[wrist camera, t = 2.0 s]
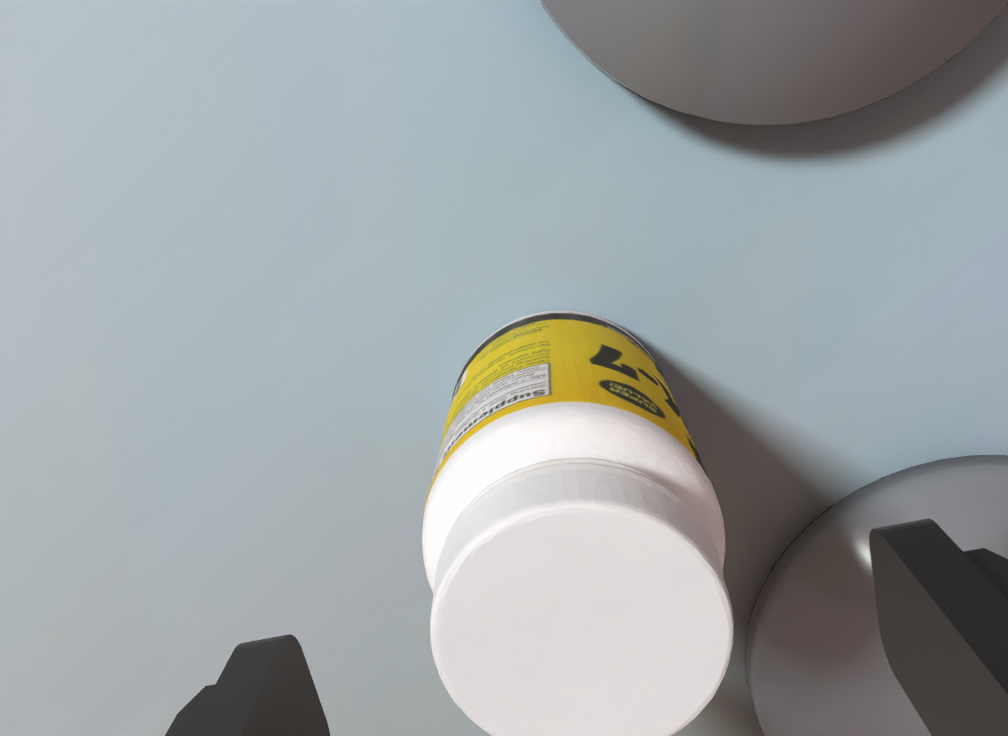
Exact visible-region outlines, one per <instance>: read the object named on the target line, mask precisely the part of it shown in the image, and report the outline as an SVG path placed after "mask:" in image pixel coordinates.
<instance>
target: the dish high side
mask: <svg viewBox="0 0 1008 736" xmlns="http://www.w3.org/2000/svg"><path fill="white" fill-rule="evenodd" d="M539 1H540V2H541V4H542V6H543V8H544V9H545V10H546V12H547V13H548V14H549V16H550V17H551V18H552V20H553V21H554V23H555V24H556V25H557V27H558V28H559V29H560V31H561V32H562V33H563V35H564V36H565V37H566V38H567V39H568V40H569V41H570V42H571V43H572V44H573V45H574V46H575V47H576V48H577V49H578V50H579V51H580V52H581V53H582V54H583V55H584V56H585V57H586V58H587V59H588V61H590V62H591V63H592V64H594V65H595V66H596V67H597V68H599V69H600V70H601V71H603V72H604V73H605V74H606V75H608V76H609V77H610V78H612V79H613V80H614V81H615V82H617V83H619V84H621V85H622V86H624V87H626V88H628V89H629V90H631V91H633V92H634V93H636V94H638V95H640V96H641V97H643V98H645V99H648V100H650V101H653V102H655V103H658V104H660V105H662V106H665V107H667V108H670V109H672V110H675V111H679V112H683V113H687V114H691V115H695V116H699V117H703V118H707V119H711V120H715V121H719V122H727V123H737V124H746V125H785V124H796V123H802V122H808V121H814V120H820V119H827V118H830V117H834V116H837V115H840V114H844V113H847V112H850V111H854V110H857V109H860V108H863V107H866V106H868V105H870V104H873V103H875V102H877V101H879V100H882V99H884V98H886V97H888V96H891V95H893V94H895V93H898V92H899V91H901V90H903V89H905V88H906V87H908V86H910V85H911V84H913V83H915V82H916V81H918V80H920V79H921V78H923V77H925V76H927V75H928V74H930V73H932V72H933V71H934V70H936V69H937V68H938V67H940V66H941V65H942V64H944V63H945V62H946V61H948V60H949V59H950V58H952V57H953V56H954V55H956V54H957V53H958V52H959V51H961V50H962V49H963V48H965V47H966V46H967V45H968V44H969V43H970V42H971V41H972V40H973V39H974V38H975V37H976V36H977V35H978V34H979V33H981V32H982V31H983V30H984V29H985V28H986V27H987V26H988V25H989V24H990V23H991V22H992V21H993V20H994V19H995V18H996V17H997V16H998V15H999V13H1000V12H1001V11H1002V10H1003V9H1004V7H1005V6H1006V5H1007V4H1008V0H539Z"/></svg>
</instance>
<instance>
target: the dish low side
mask: <svg viewBox="0 0 1008 736" xmlns="http://www.w3.org/2000/svg"><path fill="white" fill-rule="evenodd" d="M927 518H929V519H932V520H933V521H935V522H936V523H937V524H938V525H939V526H940V528H941V529H942V530H943V531H944V532H945V533H946V534H947V535H948V536H949V537H950V538H951V539H952V540H953V541H954V542H955V544H956V545H957V546H958V547H959V548H960V549H961V550H962V551H969V550H974V549H980V548H985V549H987V550H990V551H992V552H994V553H996V554H998V555H1000V556H1002V557H1005V558H1007V559H1008V456H1005V455H978V456H964V457H957V458H949V459H942V460H937V461H933V462H929V463H925V464H921V465H917V466H913V467H910V468H907V469H905V470H902V471H899V472H896V473H894V474H891V475H888V476H886V477H883V478H881V479H879V480H877V481H875V482H873V483H871V484H869V485H867V486H865V487H863V488H861V489H859V490H857V491H855V492H853V493H852V494H850V495H849V496H847V497H846V498H844V499H843V500H841V501H840V502H838V503H837V504H835V505H834V506H832V507H830V508H829V509H828V510H827V511H826V512H824V513H823V514H822V515H821V516H820V517H818V518H817V519H816V520H815V521H814V522H812V523H811V524H810V525H809V526H808V527H807V528H806V529H805V530H804V531H803V532H802V533H801V534H800V535H799V536H798V537H797V538H796V539H795V540H794V541H793V542H792V544H791V545H790V546H789V547H788V548H787V550H786V551H785V552H784V554H783V555H782V556H781V558H780V559H779V560H778V562H777V563H776V564H775V566H774V567H773V569H772V571H771V572H770V574H769V576H768V578H767V580H766V581H765V583H764V585H763V587H762V589H761V590H760V593H759V596H758V598H757V601H756V604H755V606H754V609H753V611H752V614H751V619H750V623H749V628H748V632H747V637H746V651H745V666H746V677H747V684H748V688H749V692H750V696H751V700H752V703H753V706H754V709H755V712H756V715H757V717H758V720H759V723H760V726H761V729H762V731H763V734H764V736H932V735H931V734H930V732H929V730H928V729H927V727H926V726H925V724H924V722H923V721H922V719H921V718H920V716H919V714H918V713H917V711H916V709H915V708H914V706H913V705H912V703H911V701H910V700H909V698H908V697H907V695H906V693H905V692H904V690H903V689H902V687H901V685H900V684H899V682H898V680H897V679H896V677H895V675H894V673H893V671H892V669H891V667H890V665H889V662H888V659H887V657H886V654H885V651H884V647H883V644H882V640H881V635H880V630H879V623H878V614H877V606H876V597H875V589H874V580H873V572H872V563H871V555H870V545H869V536H870V531H871V530H872V529H873V528H878V527H884V526H889V525H895V524H900V523H906V522H911V521H917V520H922V519H927Z"/></svg>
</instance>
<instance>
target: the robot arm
mask: <svg viewBox="0 0 1008 736" xmlns="http://www.w3.org/2000/svg"><path fill="white" fill-rule="evenodd" d="M869 545H870V555H871V563H872V572H873V580H874V589H875V597H876V606H877V614H878V623H879V630H880V635H881V640H882V644H883V647H884V651H885V654H886V657H887V659H888V662H889V665H890V667H891V669H892V671H893V673H894V675H895V677H896V679H897V680H898V682H899V684H900V685H901V687H902V689H903V690H904V692H905V693H906V695H907V697H908V698H909V700H910V701H911V703H912V705H913V706H914V708H915V709H916V711H917V713H918V714H919V716H920V718H921V719H922V721H923V722H924V724H925V726H926V727H927V729H928V730H929V732H930V734H931V735H932V736H1008V559H1007V558H1005V557H1002V556H1000V555H998V554H996V553H994V552H992V551H990V550H987V549H985V548H980V549H974V550H969V551H962V550H961V549H960V548H959V547H958V546H957V545H956V544H955V542H954V541H953V540H952V539H951V538H950V537H949V536H948V535H947V534H946V533H945V532H944V531H943V530H942V529H941V528H940V526H939V525H938V524H937V523H936V522H935V521H933V520H932V519H929V518H927V519H922V520H917V521H911V522H906V523H900V524H895V525H889V526H884V527H878V528H873V529H872V530H871V531H870V536H869ZM165 736H330V733H329V728H328V724H327V720H326V717H325V714H324V711H323V709H322V706H321V703H320V700H319V697H318V694H317V691H316V688H315V685H314V683H313V680H312V677H311V674H310V671H309V668H308V665H307V662H306V659H305V657H304V654H303V651H302V648H301V646H300V644H299V642H298V640H297V639H296V638H295V637H294V636H293V635H284V636H278V637H273V638H268V639H262V640H257V641H251V642H246V643H241V644H239V645H238V646H237V647H236V648H235V649H234V651H233V653H232V655H231V657H230V659H229V660H228V662H227V664H226V666H225V668H224V670H223V672H222V674H221V675H220V677H219V679H218V681H217V683H216V684H215V685H209V686H205V687H204V688H203V689H202V690H201V691H200V692H199V693H198V694H197V695H196V696H195V697H194V698H193V699H192V700H191V701H190V702H189V703H188V704H187V705H186V706H185V707H184V708H183V709H182V710H181V711H180V712H179V713H178V714H177V716H176V717H175V719H174V721H173V723H172V724H171V726H170V728H169V730H168V731H167V733H166V735H165Z"/></svg>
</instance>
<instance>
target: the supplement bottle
mask: <svg viewBox="0 0 1008 736" xmlns="http://www.w3.org/2000/svg"><path fill="white" fill-rule="evenodd" d="M422 545H423V559H424V564H425V569H426V574H427V578H428V582H429V584H430V586H431V589H432V591H433V593H434V596H433V603H432V611H431V619H430V636H431V647H432V652H433V657H434V660H435V664H436V666H437V669H438V672H439V674H440V677H441V679H442V681H443V683H444V685H445V687H446V689H447V691H448V693H449V694H450V696H451V697H452V699H453V700H454V701H455V703H456V704H457V705H458V706H459V707H460V708H461V709H462V710H463V711H464V713H465V714H466V715H467V716H468V717H469V718H470V719H471V720H472V721H473V722H475V723H476V724H477V725H478V726H479V727H481V728H482V729H483V730H485V731H486V732H487V733H489V734H490V735H492V736H672V735H674V734H675V733H677V732H678V731H680V730H681V729H682V728H684V727H685V726H686V725H687V724H688V723H690V722H691V721H692V720H693V719H694V718H696V717H697V715H698V714H699V713H700V712H701V711H702V710H703V709H704V708H705V706H706V705H707V704H708V703H709V702H710V700H711V699H712V698H713V696H714V695H715V693H716V691H717V689H718V688H719V686H720V684H721V681H722V680H723V678H724V676H725V673H726V670H727V668H728V665H729V662H730V659H731V653H732V647H733V640H734V618H733V611H732V605H731V600H730V596H729V593H728V590H727V587H726V584H725V581H724V576H723V565H724V557H725V530H724V522H723V516H722V512H721V509H720V505H719V502H718V499H717V495H716V492H715V489H714V486H713V484H712V482H711V480H710V478H709V476H708V474H707V472H706V469H705V467H704V466H703V463H702V461H701V459H700V457H699V454H698V452H697V450H696V447H695V445H694V443H693V441H692V439H691V437H690V434H689V432H688V429H687V427H686V425H685V423H684V421H683V418H682V416H681V414H680V412H679V410H678V407H677V405H676V403H675V401H674V399H673V397H672V394H671V392H670V389H669V387H668V385H667V383H666V380H665V378H664V376H663V374H662V372H661V370H660V368H659V367H658V365H657V363H656V362H655V360H654V359H653V357H652V356H651V355H650V353H649V352H648V351H647V350H646V349H645V348H644V346H643V345H642V344H641V343H640V342H639V341H638V340H637V339H635V338H634V337H633V336H632V335H631V334H629V333H628V332H627V331H625V330H624V329H622V328H621V327H619V326H617V325H616V324H614V323H612V322H610V321H608V320H606V319H603V318H601V317H598V316H595V315H593V314H589V313H584V312H579V311H572V310H552V311H544V312H538V313H534V314H530V315H527V316H524V317H521V318H518V319H516V320H514V321H512V322H509V323H508V324H506V325H504V326H502V327H501V328H499V329H498V330H496V331H495V332H494V333H492V334H491V335H490V336H488V337H487V338H486V339H485V340H484V341H483V342H482V343H481V344H480V345H479V346H478V347H477V348H476V350H475V351H474V352H473V353H472V355H471V356H470V358H469V359H468V360H467V362H466V364H465V366H464V368H463V369H462V371H461V373H460V376H459V378H458V381H457V383H456V386H455V389H454V393H453V398H452V402H451V406H450V410H449V414H448V418H447V422H446V426H445V430H444V434H443V438H442V442H441V446H440V450H439V455H438V459H437V463H436V467H435V471H434V475H433V479H432V483H431V487H430V491H429V494H428V497H427V501H426V505H425V510H424V519H423V533H422Z"/></svg>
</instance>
